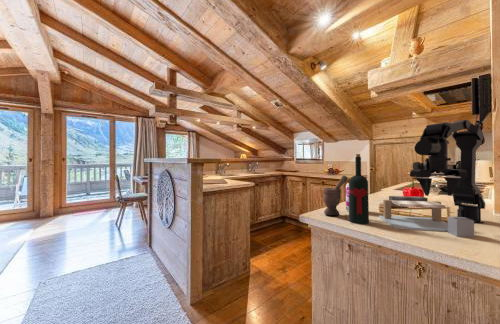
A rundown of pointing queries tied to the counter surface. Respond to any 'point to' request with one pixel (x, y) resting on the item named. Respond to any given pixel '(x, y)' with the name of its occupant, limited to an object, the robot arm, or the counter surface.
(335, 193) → the mortar and pestle
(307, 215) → the counter surface
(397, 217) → the frame
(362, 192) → the wine bottle
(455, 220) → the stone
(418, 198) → the trapdoor
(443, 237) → the counter surface
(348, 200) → the supplement can
